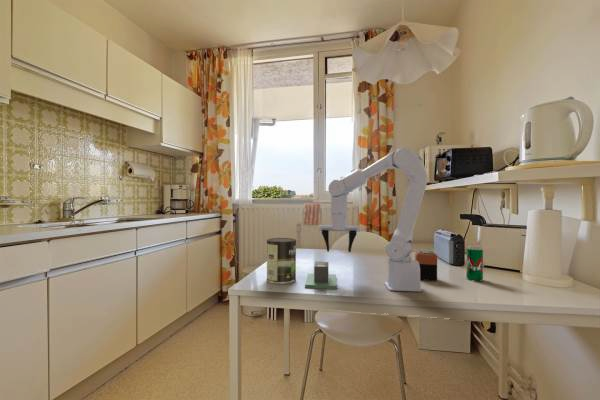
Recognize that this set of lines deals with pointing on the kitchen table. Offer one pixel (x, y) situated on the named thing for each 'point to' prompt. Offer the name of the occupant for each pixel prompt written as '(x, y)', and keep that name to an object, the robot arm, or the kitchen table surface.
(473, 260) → the soda can
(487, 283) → the kitchen table surface
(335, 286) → the header board
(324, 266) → the block
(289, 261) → the coffee can
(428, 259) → the battery
